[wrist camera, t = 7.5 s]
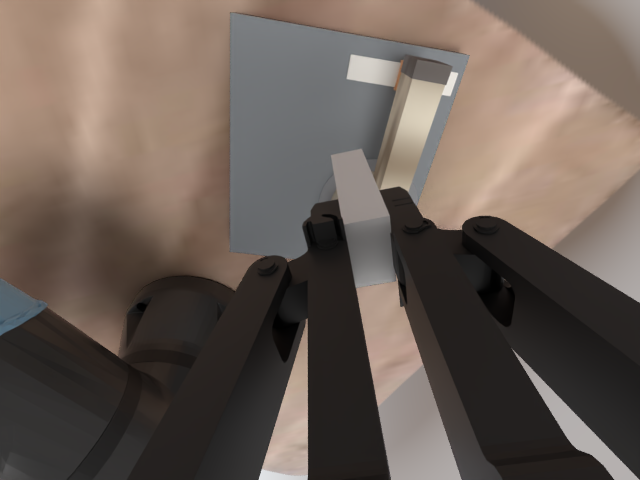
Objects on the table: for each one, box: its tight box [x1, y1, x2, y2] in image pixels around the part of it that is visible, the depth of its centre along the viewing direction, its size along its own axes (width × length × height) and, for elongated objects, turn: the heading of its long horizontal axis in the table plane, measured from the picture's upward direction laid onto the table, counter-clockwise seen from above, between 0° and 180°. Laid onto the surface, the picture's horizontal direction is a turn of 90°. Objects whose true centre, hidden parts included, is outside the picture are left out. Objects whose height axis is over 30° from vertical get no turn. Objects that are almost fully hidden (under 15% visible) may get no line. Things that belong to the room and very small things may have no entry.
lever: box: [331, 54, 453, 273], centre depth 25 cm, size 16×7×7 cm, turn 170°
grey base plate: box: [230, 12, 470, 259], centre depth 29 cm, size 20×17×2 cm
